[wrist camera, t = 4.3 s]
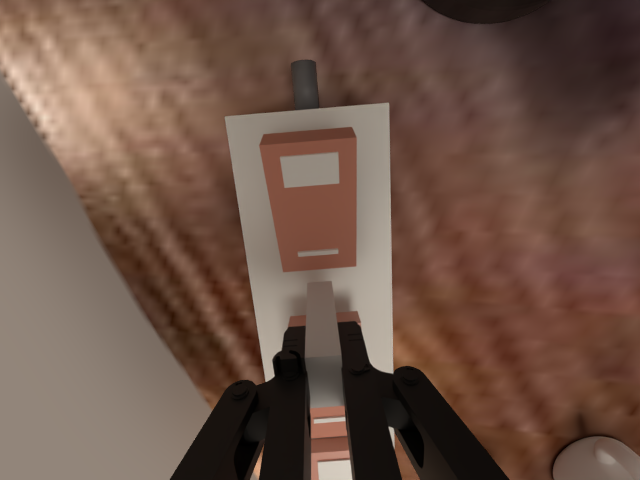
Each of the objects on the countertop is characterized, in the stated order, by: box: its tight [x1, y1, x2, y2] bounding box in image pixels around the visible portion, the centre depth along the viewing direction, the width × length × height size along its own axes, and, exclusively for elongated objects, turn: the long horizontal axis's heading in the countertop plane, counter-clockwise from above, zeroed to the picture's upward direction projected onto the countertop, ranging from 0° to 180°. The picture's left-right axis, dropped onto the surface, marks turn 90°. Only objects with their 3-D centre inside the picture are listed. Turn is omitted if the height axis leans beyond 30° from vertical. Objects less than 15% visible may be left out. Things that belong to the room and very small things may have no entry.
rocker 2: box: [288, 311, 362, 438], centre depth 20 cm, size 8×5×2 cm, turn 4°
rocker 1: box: [259, 127, 357, 272], centre depth 17 cm, size 8×5×2 cm, turn 5°
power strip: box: [225, 60, 394, 446], centre depth 24 cm, size 37×10×5 cm, turn 4°
